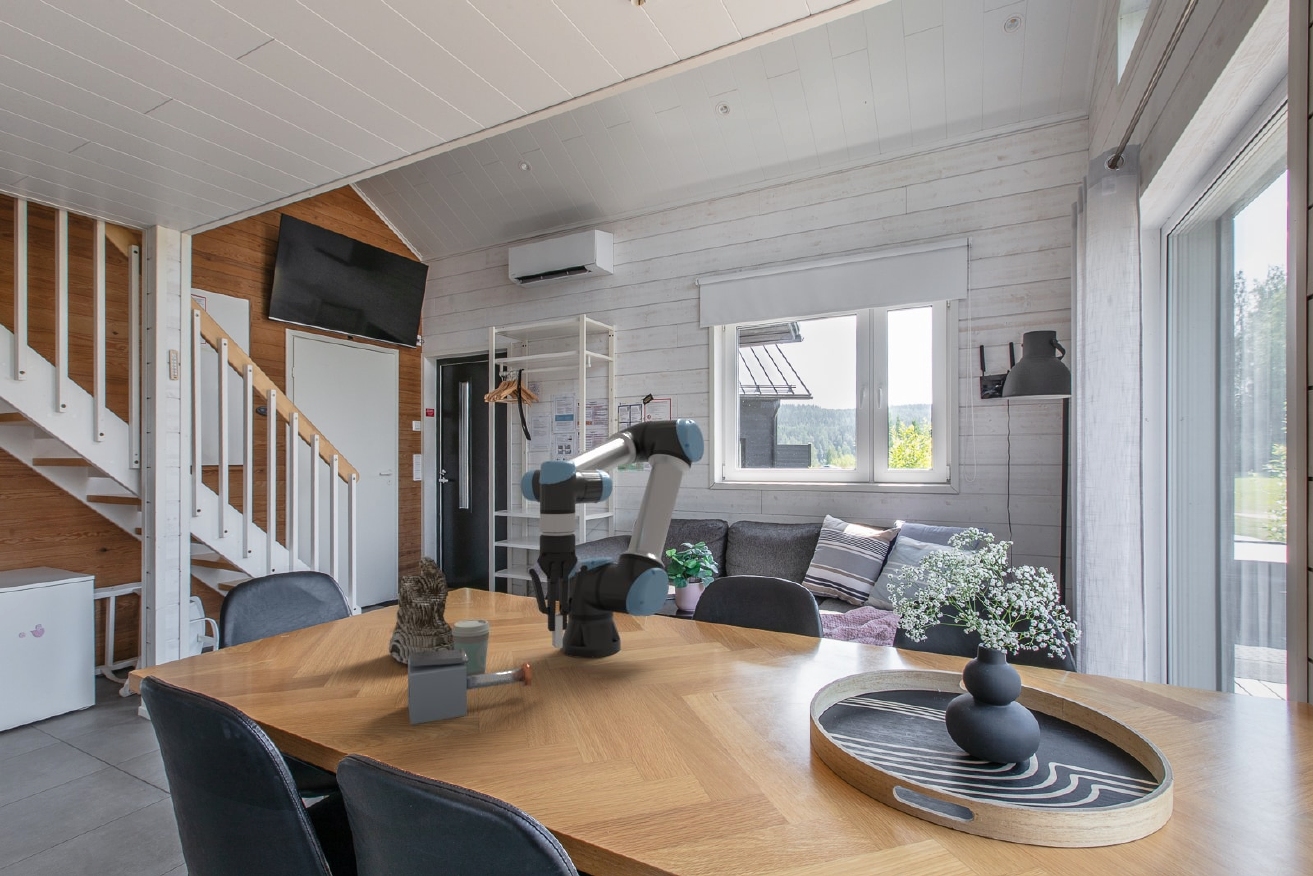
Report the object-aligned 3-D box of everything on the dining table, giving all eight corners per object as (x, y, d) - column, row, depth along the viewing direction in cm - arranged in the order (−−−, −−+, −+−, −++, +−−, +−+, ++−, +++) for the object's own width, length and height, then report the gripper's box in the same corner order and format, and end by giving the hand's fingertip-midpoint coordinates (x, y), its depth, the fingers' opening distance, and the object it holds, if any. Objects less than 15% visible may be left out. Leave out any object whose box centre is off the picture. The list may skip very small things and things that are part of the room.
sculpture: (376, 658, 162) (376, 557, 163) (427, 645, 172) (426, 551, 173) (418, 674, 149) (418, 565, 150) (470, 660, 159) (470, 557, 160)
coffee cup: (480, 684, 142) (479, 628, 142) (444, 681, 143) (444, 627, 144) (497, 671, 150) (497, 619, 150) (463, 669, 152) (463, 617, 152)
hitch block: (460, 698, 133) (460, 654, 133) (466, 715, 124) (466, 668, 124) (408, 706, 129) (408, 660, 129) (410, 724, 120) (410, 675, 120)
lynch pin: (526, 681, 136) (526, 659, 136) (531, 688, 132) (531, 665, 132) (451, 693, 130) (451, 670, 130) (454, 700, 126) (454, 676, 126)
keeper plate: (464, 654, 132) (464, 648, 132) (468, 663, 126) (468, 656, 126) (408, 657, 128) (409, 651, 128) (410, 666, 122) (411, 660, 122)
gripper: (581, 530, 144) (581, 638, 142) (523, 533, 138) (522, 645, 137) (592, 533, 137) (592, 646, 136) (531, 536, 131) (530, 654, 130)
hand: (557, 645), depth 136 cm, fingers closed
